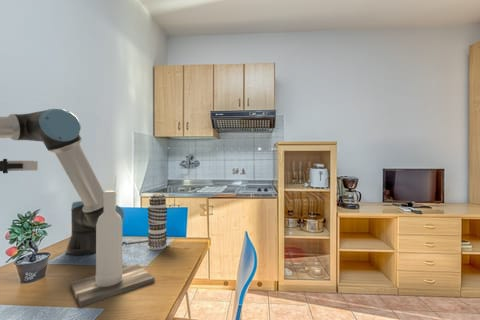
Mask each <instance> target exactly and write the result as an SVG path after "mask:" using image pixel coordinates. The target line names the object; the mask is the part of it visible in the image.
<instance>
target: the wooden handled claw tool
mask: <svg viewBox="0 0 480 320" xmlns="http://www.w3.org/2000/svg"><path fill="white" fill-rule="evenodd" d="M166 239H168V238H167V236H166ZM142 243H149V242H148V239H146V240H137V241H131V242H130V241H129V242H126V241H122V247H123V246H124V245H125V247H127V245H133V244H135V245H136V244H142Z"/></svg>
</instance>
